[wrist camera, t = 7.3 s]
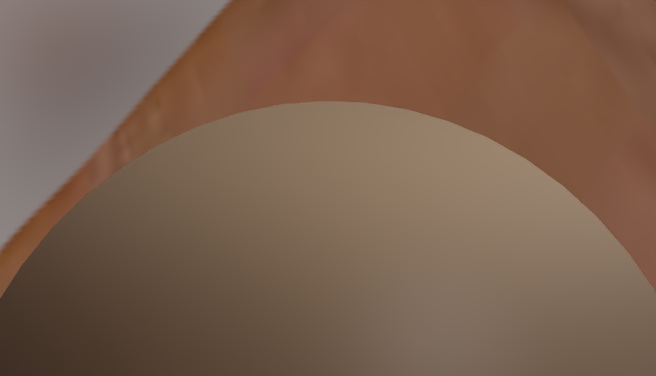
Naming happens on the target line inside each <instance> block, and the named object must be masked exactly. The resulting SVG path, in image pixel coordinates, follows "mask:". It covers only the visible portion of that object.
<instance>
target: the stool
mask: <svg viewBox="0 0 656 376" xmlns="http://www.w3.org/2000/svg"><path fill="white" fill-rule="evenodd" d="M0 376H656V292H655V291H654V289H653V288H652V286H651V285H650V284H649V282H648V281H647V279H646V278H645V276H644V275H643V273H642V272H641V271H640V269H639V268H638V266H637V265H636V263H635V262H634V260H633V259H632V258H631V256H630V255H629V253H628V252H627V251H626V250H625V249H624V248H623V246H622V245H621V244H620V243H619V242H618V241H617V240H616V238H615V237H614V236H613V235H612V234H611V233H610V232H609V230H608V229H607V228H606V227H605V226H604V225H603V224H602V222H601V221H600V220H599V219H598V218H597V217H596V216H595V215H594V214H593V213H592V212H591V211H590V210H589V209H587V208H586V207H585V206H584V205H583V204H582V203H581V202H580V201H579V200H578V199H576V198H575V197H574V196H573V195H572V194H571V193H570V192H569V191H568V190H567V189H566V188H564V187H563V186H562V185H561V184H559V183H558V182H557V181H555V180H554V179H552V178H551V177H550V176H548V175H547V174H546V173H544V172H543V171H541V170H540V169H539V168H537V167H536V166H535V165H533V164H532V163H530V162H529V161H528V160H526V159H525V158H523V157H521V156H519V155H517V154H516V153H514V152H512V151H510V150H509V149H507V148H505V147H503V146H501V145H500V144H498V143H496V142H494V141H492V140H491V139H489V138H487V137H485V136H482V135H480V134H477V133H475V132H473V131H470V130H468V129H465V128H463V127H461V126H458V125H456V124H453V123H451V122H449V121H445V120H442V119H438V118H435V117H432V116H428V115H425V114H421V113H418V112H414V111H411V110H407V109H401V108H395V107H388V106H382V105H376V104H370V103H358V102H335V101H318V102H305V103H291V104H281V105H276V106H271V107H266V108H260V109H255V110H250V111H245V112H241V113H237V114H234V115H231V116H228V117H225V118H222V119H219V120H216V121H213V122H209V123H206V124H203V125H200V126H198V127H196V128H194V129H191V130H189V131H187V132H185V133H183V134H181V135H178V136H176V137H174V138H172V139H170V140H167V141H165V142H163V143H161V144H159V145H158V146H156V147H154V148H153V149H151V150H149V151H148V152H146V153H144V154H143V155H141V156H139V157H138V158H136V159H134V160H133V161H131V162H129V163H128V164H126V165H125V166H123V167H122V168H120V169H119V170H118V171H116V172H115V173H114V174H113V175H111V176H110V177H109V178H107V179H106V180H105V181H104V182H102V183H101V184H100V185H98V186H97V187H96V188H94V189H93V190H92V191H91V192H89V193H88V194H87V195H86V196H85V197H84V198H83V199H82V200H81V201H80V202H78V203H77V204H76V205H75V206H74V207H73V208H72V209H71V210H70V211H69V212H68V213H67V214H66V215H65V216H64V217H63V218H62V219H61V220H60V221H59V222H58V223H57V224H56V225H55V226H54V227H53V228H52V229H51V230H50V232H49V233H48V234H47V235H46V236H45V238H44V239H43V240H42V241H41V243H40V244H39V245H38V246H37V248H36V249H35V250H34V251H33V252H32V254H31V255H30V256H29V257H28V259H27V260H26V261H25V262H24V264H23V265H22V266H21V268H20V269H19V271H18V272H17V274H16V275H15V277H14V278H13V280H12V282H11V283H10V285H9V286H8V288H7V289H6V291H5V292H4V294H3V296H2V297H1V299H0Z"/></svg>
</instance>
